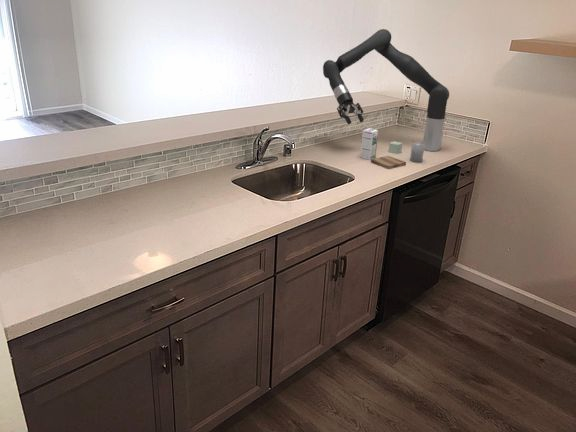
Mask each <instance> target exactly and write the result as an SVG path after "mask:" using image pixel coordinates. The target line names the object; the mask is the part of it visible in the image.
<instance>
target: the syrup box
mask: <svg viewBox="0 0 576 432" xmlns="http://www.w3.org/2000/svg"><path fill="white" fill-rule="evenodd" d="M378 134H379V130H378V129H376V128H370V127H368V128H367V129H363V130H362V136H361V148H360V158H361V159H364V160H368V161H371V159H375V158H377V157H376V155H377V145H378Z"/></svg>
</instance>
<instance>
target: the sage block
mask: <svg viewBox="0 0 576 432" xmlns="http://www.w3.org/2000/svg"><path fill="white" fill-rule="evenodd" d="M402 148H403V143H402V142H401V141H400V142H398V141H395V140H394V141H391V142H389V144H388V153H390V154H395V155H399V154H401V153H402Z"/></svg>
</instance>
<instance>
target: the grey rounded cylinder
mask: <svg viewBox="0 0 576 432" xmlns="http://www.w3.org/2000/svg"><path fill="white" fill-rule="evenodd" d="M424 146H425V144H424V143H423V141H422V142H421V141H413V142H412V143H411V150H410V157H409V162H412V163H416V164H419V163H420V164H421V163H422V162H423V158H424V151H425V150H424Z"/></svg>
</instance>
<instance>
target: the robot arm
mask: <svg viewBox="0 0 576 432" xmlns="http://www.w3.org/2000/svg"><path fill="white" fill-rule="evenodd" d="M391 42H392V33H391V32H390V31H389V30H388V29H385V28H381V29H379V30H377V31H376V32H375V33H373V34H372V35H371V36H370V37H368V38H367V39H366V40H364V41H363V42H361V43H360V44H358V45H357V46H355V47H353V48H351V49H349V50H348V51H346V52H345V53H343V54H341V55H339V56H338V57H337V59H336V61H334V60H331V59H328V60H326V61H324V63H323V64H322V65H323V66H322V73H323V76H324V78H326V79H328V82H329V86H330V88H331V90H332V93H333V95H334V97H335V99H336V102H337V103H338V106H337V107H336V111H337V112H338V115H339V117H340V119H344V121H345V122H346V124H347V125H351V124H352V120H351V118H350V116H349V115H350V114H352V115H355V116H357V118H358V120H359V122H360V123H363V122H364V120H365V119H364V117H363V115H362V114H363V113H364V110H363V108H362V107H361V104H360V103H359V102H357V103H354V99H353V97H352V94H351V92H350V90H349V89H348V87H347V85H346V84H345V82H344V80H343V78H342V75H341V73H343V71H344V70H345V69H347V68H349V67H351V66H352V65H354V64H356V63H358V62H359V61H360V60H361V59H362V58H364V57H365V56H366V55H368V54H369V53H370V52H372V51H373V50H375V52H377V53H378V54H380V55H381V56H382V57H383V58H385V59H386V60H387V61H389V62H390V63H391V65H393V66H394V67H395V68H396V69H397V70H398V71H399V72H400V73H401V74H402V75H403V76H404V77H405V78H406V79H408V80H409V81H410V82H412V83H414V84H415V85H417V86H419V87H420V88H422V89H423V90H424V91H425V92H426V93H427V94H428V96H429V97H428V103H427V110H426V120H425V127H424V133H423V139H422V143H424V144H425V146H424V151H428V152H429V151H430V152H438V151H440V150H441V147H442V143H443V142H442V141H443V138H444V137H443V135H444V131H443V130H444V124H445V120H446V119H445V118H446V109H447V105H448V104H447V103H448V100H449V98H450V92H449V90H448V89H449V88H448V87H446V86H445V85H443V84H442V83H440V81H438V80H436V79H435V78H434V77H433V76H432V75H431V74H430V73H429V72H428V71H427V70H426V69H425V68H424V66H423V65H421V64H420V63H419V62H418V61H417V60H416V59H415V58H414V57H412V56H411V55H409V54H407V53H405V52H402V51H400V50H398V48H396V47H395V46H394V45H393V44H392V43H391Z"/></svg>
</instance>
